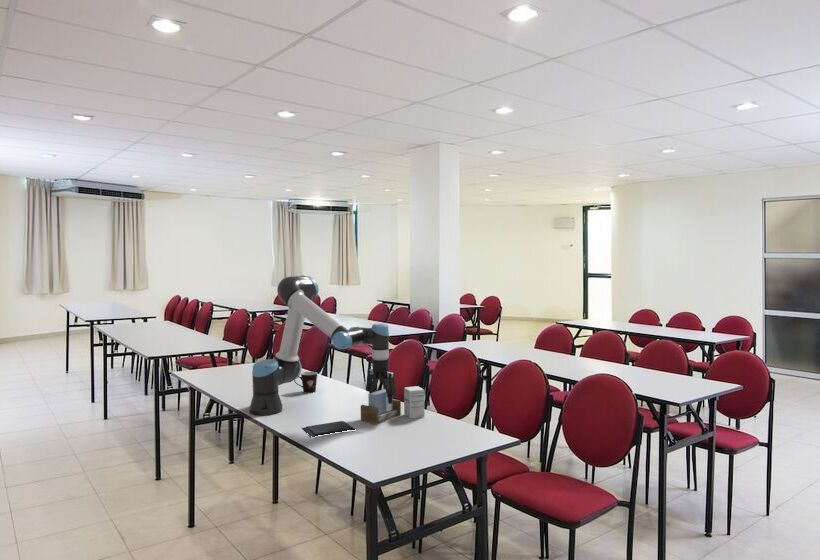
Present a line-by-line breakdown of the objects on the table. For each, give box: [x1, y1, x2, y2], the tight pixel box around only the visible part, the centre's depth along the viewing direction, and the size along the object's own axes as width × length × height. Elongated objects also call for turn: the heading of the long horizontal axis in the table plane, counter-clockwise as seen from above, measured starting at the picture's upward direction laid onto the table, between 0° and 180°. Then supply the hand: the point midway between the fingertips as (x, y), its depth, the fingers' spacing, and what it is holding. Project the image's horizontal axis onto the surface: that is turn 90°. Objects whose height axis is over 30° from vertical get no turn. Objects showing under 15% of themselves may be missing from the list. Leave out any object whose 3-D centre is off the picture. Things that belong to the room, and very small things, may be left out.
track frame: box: [360, 398, 402, 425], centre depth 250 cm, size 17×9×7 cm, turn 142°
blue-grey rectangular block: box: [368, 388, 394, 416], centre depth 250 cm, size 12×4×11 cm, turn 142°
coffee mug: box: [293, 371, 318, 394], centre depth 299 cm, size 12×9×10 cm
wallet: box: [301, 420, 356, 437], centre depth 234 cm, size 20×2×15 cm
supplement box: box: [403, 385, 425, 420], centre depth 253 cm, size 7×7×13 cm
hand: (381, 408), depth 250 cm, fingers open, 8 cm apart
